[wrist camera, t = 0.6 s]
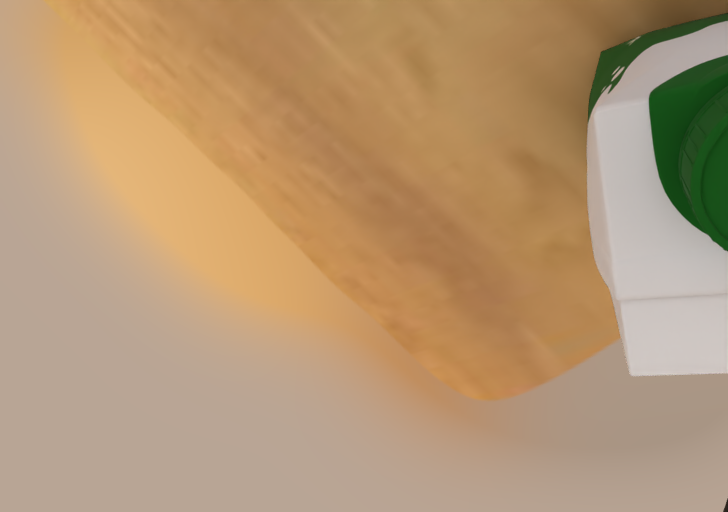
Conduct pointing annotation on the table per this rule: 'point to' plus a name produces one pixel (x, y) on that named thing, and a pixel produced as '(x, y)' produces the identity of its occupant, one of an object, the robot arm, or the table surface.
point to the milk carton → (663, 195)
